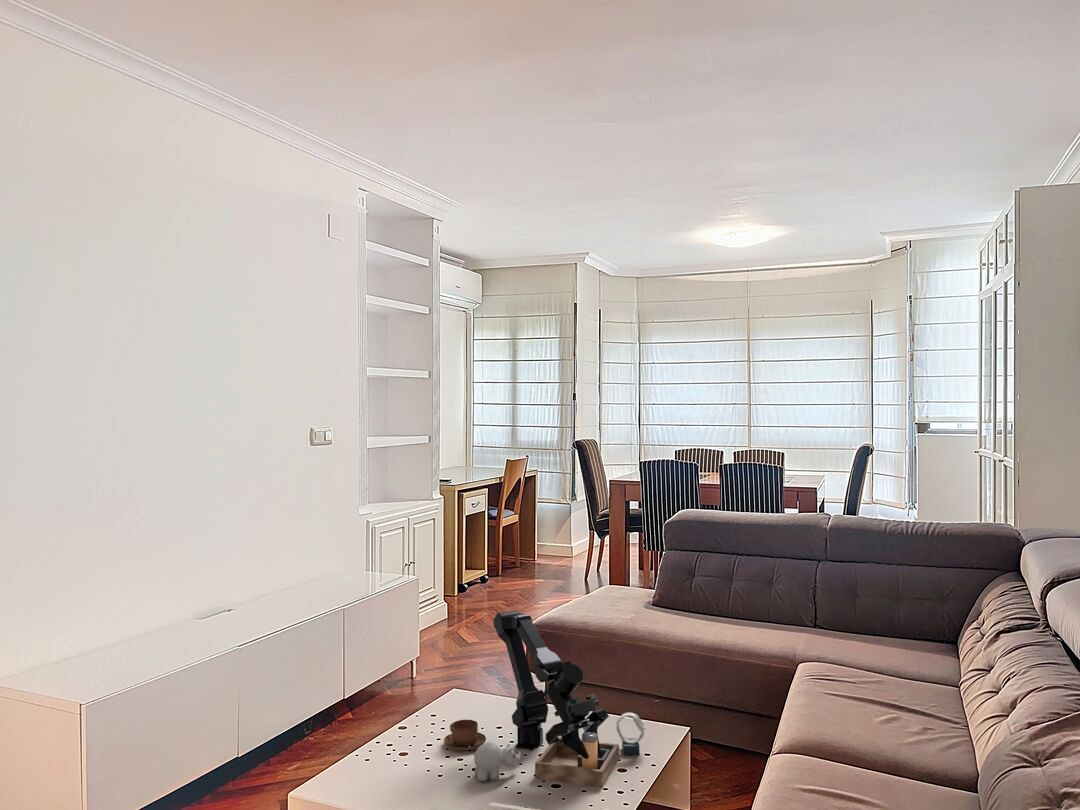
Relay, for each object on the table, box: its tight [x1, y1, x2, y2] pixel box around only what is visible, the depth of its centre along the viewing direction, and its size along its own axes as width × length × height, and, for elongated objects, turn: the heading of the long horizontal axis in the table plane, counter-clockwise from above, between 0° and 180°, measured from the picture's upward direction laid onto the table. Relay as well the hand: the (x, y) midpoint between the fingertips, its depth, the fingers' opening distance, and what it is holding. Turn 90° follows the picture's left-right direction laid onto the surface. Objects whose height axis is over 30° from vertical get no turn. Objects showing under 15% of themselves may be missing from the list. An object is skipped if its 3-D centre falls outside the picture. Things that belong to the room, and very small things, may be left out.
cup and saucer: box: [443, 719, 487, 751], centre depth 240 cm, size 12×12×6 cm
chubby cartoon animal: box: [473, 742, 522, 782], centre depth 219 cm, size 8×12×9 cm, turn 103°
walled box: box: [534, 736, 620, 788], centre depth 222 cm, size 18×18×4 cm
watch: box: [616, 712, 646, 756], centre depth 233 cm, size 6×8×11 cm
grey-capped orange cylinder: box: [581, 732, 598, 769], centre depth 217 cm, size 4×4×11 cm
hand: (593, 755), depth 216 cm, fingers closed on grey-capped orange cylinder, 4 cm apart
